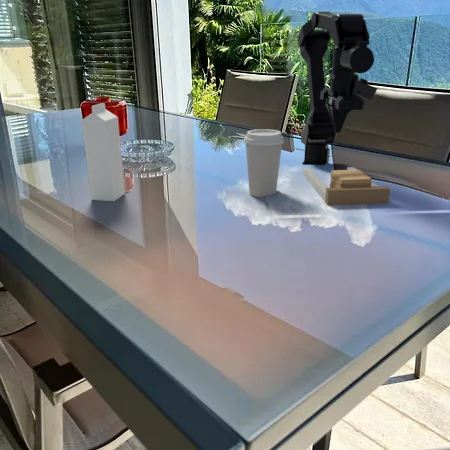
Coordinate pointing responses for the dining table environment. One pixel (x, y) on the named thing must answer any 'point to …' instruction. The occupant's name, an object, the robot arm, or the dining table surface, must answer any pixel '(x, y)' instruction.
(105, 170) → the milk
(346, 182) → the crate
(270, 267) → the dining table surface
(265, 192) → the coffee cup
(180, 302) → the dining table surface
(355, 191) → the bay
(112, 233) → the dining table surface
